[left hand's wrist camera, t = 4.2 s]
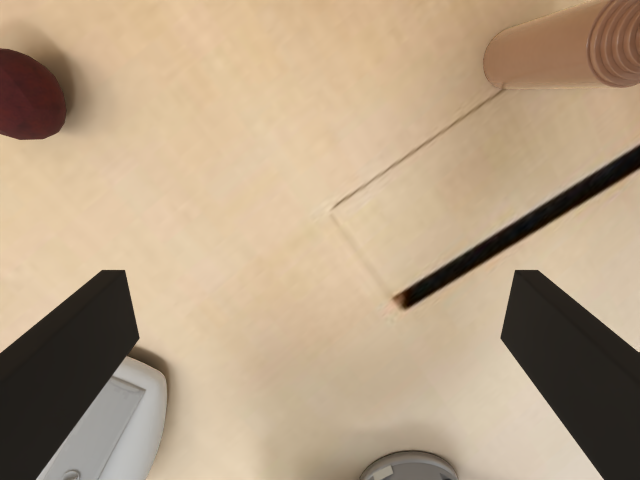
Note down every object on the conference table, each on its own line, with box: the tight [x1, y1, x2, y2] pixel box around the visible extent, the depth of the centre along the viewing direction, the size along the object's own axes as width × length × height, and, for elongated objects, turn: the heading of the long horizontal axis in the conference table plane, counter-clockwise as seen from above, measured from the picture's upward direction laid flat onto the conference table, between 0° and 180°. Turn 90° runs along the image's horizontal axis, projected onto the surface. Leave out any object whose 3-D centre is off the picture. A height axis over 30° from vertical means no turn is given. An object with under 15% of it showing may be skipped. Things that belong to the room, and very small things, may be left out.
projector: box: [36, 356, 167, 480], centre depth 45 cm, size 22×23×15 cm
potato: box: [0, 49, 66, 140], centre depth 33 cm, size 7×8×7 cm
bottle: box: [483, 0, 640, 89], centre depth 26 cm, size 5×5×19 cm
